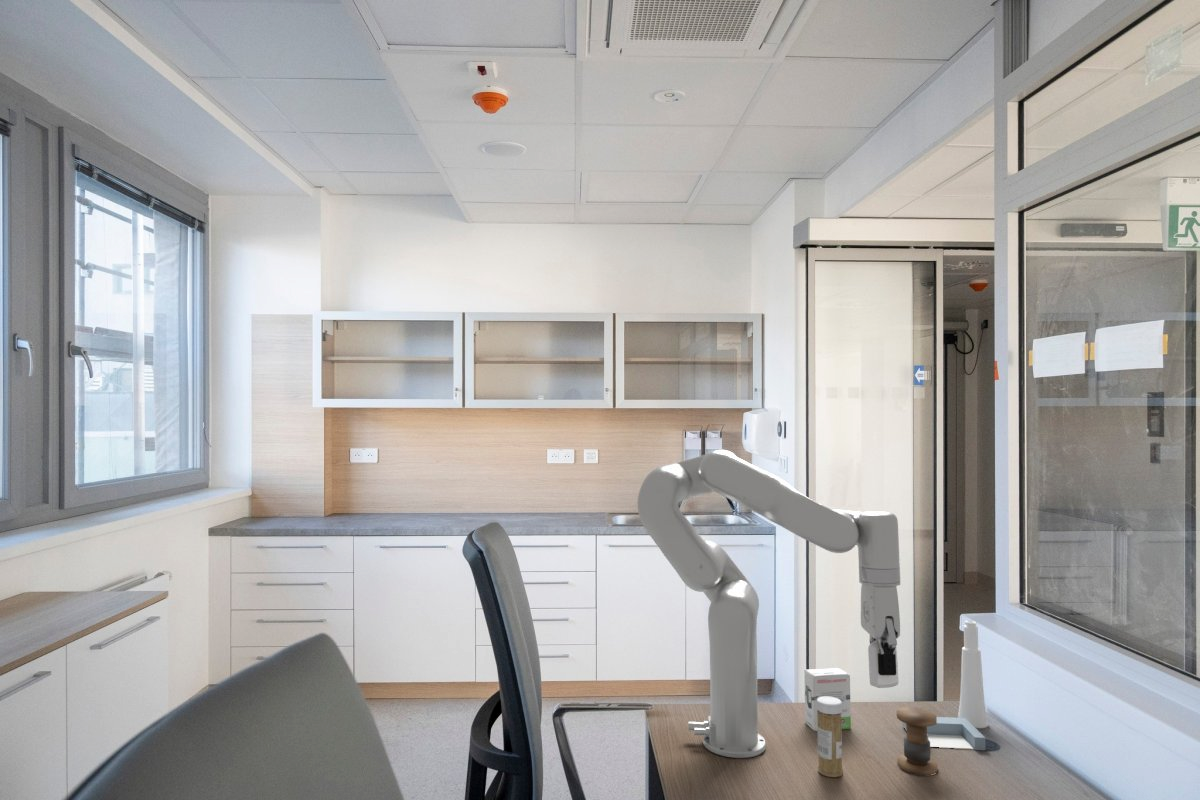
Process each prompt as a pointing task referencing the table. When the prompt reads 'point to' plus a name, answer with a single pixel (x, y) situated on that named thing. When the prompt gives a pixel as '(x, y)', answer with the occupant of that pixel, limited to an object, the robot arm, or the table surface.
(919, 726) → the spool
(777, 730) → the table surface
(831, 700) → the sprinkles bottle
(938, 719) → the notched board
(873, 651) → the eye dropper bottle
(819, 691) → the ink box
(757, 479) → the robot arm
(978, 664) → the cosmetic bottle
